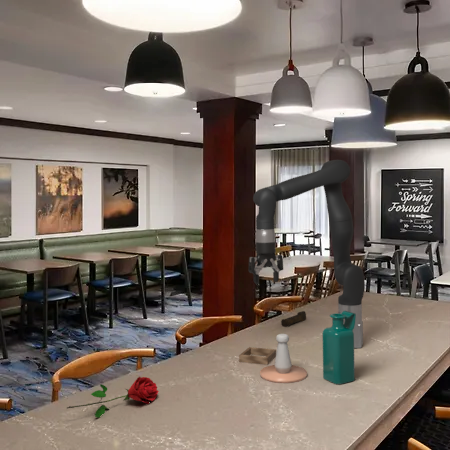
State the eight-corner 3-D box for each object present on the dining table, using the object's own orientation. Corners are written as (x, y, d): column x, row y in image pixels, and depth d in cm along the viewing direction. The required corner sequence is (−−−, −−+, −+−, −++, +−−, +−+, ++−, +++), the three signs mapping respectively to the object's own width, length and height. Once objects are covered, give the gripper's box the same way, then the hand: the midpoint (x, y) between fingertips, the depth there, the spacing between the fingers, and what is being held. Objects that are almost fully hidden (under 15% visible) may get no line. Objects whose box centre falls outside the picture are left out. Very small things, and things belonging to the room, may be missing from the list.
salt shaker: (273, 369, 180) (272, 332, 180) (289, 368, 181) (289, 331, 180) (276, 375, 175) (275, 337, 174) (293, 374, 175) (292, 336, 174)
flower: (72, 386, 140) (162, 368, 161) (58, 394, 146) (146, 376, 167) (78, 420, 137) (169, 398, 158) (63, 427, 143) (153, 405, 164)
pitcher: (337, 385, 166) (336, 318, 165) (320, 377, 174) (319, 313, 173) (360, 380, 171) (359, 314, 170) (343, 372, 178) (342, 309, 177)
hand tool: (287, 328, 242) (287, 318, 242) (280, 326, 245) (280, 317, 244) (310, 320, 256) (310, 311, 255) (303, 319, 258) (303, 310, 258)
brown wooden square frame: (276, 355, 199) (276, 349, 199) (267, 364, 189) (267, 357, 189) (249, 353, 203) (249, 347, 203) (239, 361, 193) (239, 355, 193)
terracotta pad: (311, 369, 182) (311, 367, 182) (300, 385, 167) (300, 382, 167) (268, 365, 188) (268, 362, 188) (253, 379, 173) (253, 377, 173)
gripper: (254, 242, 192) (255, 286, 193) (286, 240, 198) (287, 282, 199) (244, 241, 199) (245, 283, 199) (275, 239, 205) (276, 279, 206)
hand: (266, 282), depth 199 cm, fingers open, 8 cm apart
